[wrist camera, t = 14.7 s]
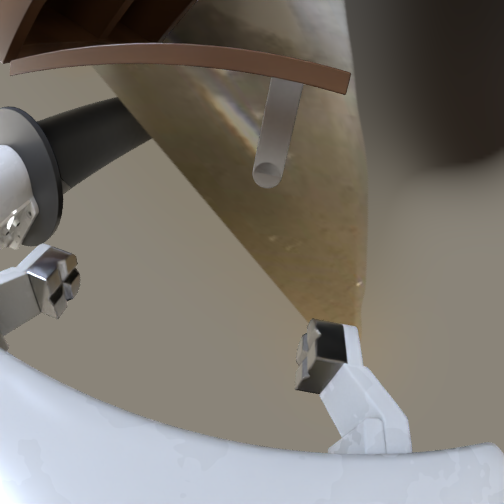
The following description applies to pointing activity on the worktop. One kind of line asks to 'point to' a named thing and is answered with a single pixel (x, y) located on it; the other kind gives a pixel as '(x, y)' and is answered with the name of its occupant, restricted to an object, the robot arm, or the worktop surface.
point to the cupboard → (83, 24)
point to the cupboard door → (275, 66)
